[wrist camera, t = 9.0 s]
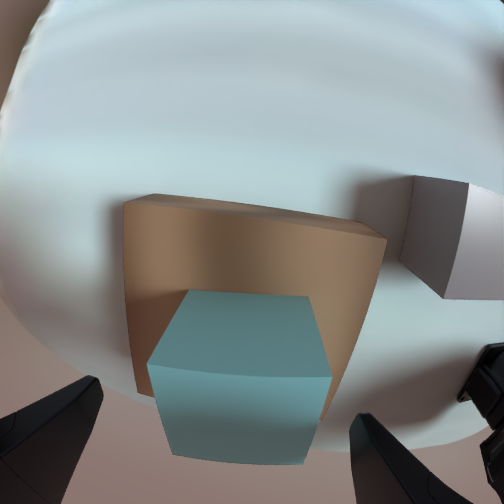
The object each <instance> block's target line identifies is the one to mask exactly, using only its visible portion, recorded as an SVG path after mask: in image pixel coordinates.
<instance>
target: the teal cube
mask: <svg viewBox="0 0 504 504" xmlns="http://www.w3.org/2000/svg"><path fill="white" fill-rule="evenodd" d="M147 368H148V372H149V376H150V380H151V384H152V388H153V392H154V396H155V400H156V403H157V407H158V410H159V414H160V417H161V421H162V424H163V427H164V430H165V433H166V436H167V439H168V442H169V445H170V448H171V451H172V454H173V455H178V456H184V457H190V458H196V459H202V460H210V461H218V462H228V463H240V464H258V465H300V464H303V463H304V460H305V458H306V455H307V452H308V450H309V447H310V444H311V442H312V439H313V436H314V433H315V431H316V428H317V425H318V422H319V419H320V416H321V413H322V410H323V407H324V403H325V400H326V397H327V394H328V390H329V387H330V384H331V380H332V374H331V370H330V366H329V363H328V359H327V356H326V352H325V349H324V346H323V342H322V339H321V335H320V332H319V329H318V325H317V322H316V319H315V316H314V312H313V309H312V306H311V303H310V299H309V296H290V295H268V294H249V293H232V292H216V291H202V290H189V291H188V293H187V294H186V296H185V298H184V299H183V301H182V303H181V304H180V306H179V308H178V309H177V311H176V313H175V315H174V316H173V318H172V320H171V322H170V323H169V325H168V327H167V328H166V330H165V332H164V334H163V335H162V337H161V339H160V341H159V342H158V344H157V346H156V348H155V350H154V351H153V353H152V355H151V357H150V358H149V360H148V362H147Z"/></svg>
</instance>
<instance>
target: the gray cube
mask: <svg viewBox="0 0 504 504" xmlns="http://www.w3.org/2000/svg"><path fill="white" fill-rule="evenodd" d="M399 262H400V263H401V264H403V265H404V266H405V267H406V268H408V269H409V270H410V271H411V272H412V273H414V274H415V275H416V276H417V277H418V278H419V279H421V280H422V281H423V282H424V283H425V284H427V285H428V286H429V287H430V288H431V289H432V290H433V291H435V292H436V293H437V294H438V295H439V296H440V297H441V298H443V299H459V300H504V196H501V195H499V194H496V193H494V192H491V191H489V190H486V189H484V188H481V187H478V186H476V185H473V184H470V183H465V182H459V181H453V180H446V179H439V178H432V177H425V176H417V175H414V182H413V190H412V197H411V203H410V210H409V216H408V221H407V227H406V232H405V237H404V242H403V246H402V251H401V255H400V259H399Z"/></svg>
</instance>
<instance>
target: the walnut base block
mask: <svg viewBox="0 0 504 504" xmlns="http://www.w3.org/2000/svg"><path fill="white" fill-rule="evenodd" d="M387 240H388V239H386V238H385V237H383V236H382V235H380V234H379V233H377V232H375V231H374V230H372V229H371V228H369V227H368V226H366V225H365V224H363V223H361V222H357V221H351V220H346V219H340V218H335V217H329V216H323V215H317V214H311V213H305V212H299V211H292V210H286V209H279V208H272V207H266V206H258V205H251V204H244V203H236V202H228V201H220V200H212V199H203V198H194V197H185V196H175V195H165V194H152V195H148V196H145V197H141V198H138V199H134V200H131V201H128V202H124V212H123V262H124V285H125V301H126V313H127V323H128V332H129V341H130V348H131V356H132V362H133V369H134V375H135V380H136V386H137V391H138V393H140V394H144V395H147V396H151V397H154V398H155V396H154V392H153V388H152V384H151V380H150V376H149V372H148V368H147V362H148V360H149V358H150V357H151V355H152V353H153V351H154V350H155V348H156V346H157V344H158V342H159V341H160V339H161V337H162V335H163V334H164V332H165V330H166V328H167V327H168V325H169V323H170V322H171V320H172V318H173V316H174V315H175V313H176V311H177V309H178V308H179V306H180V304H181V303H182V301H183V299H184V298H185V296H186V294H187V293H188V291H189V290H202V291H216V292H232V293H249V294H268V295H290V296H309V299H310V303H311V306H312V309H313V312H314V316H315V319H316V322H317V325H318V329H319V332H320V335H321V339H322V342H323V346H324V349H325V352H326V356H327V359H328V363H329V366H330V370H331V374H332V380H331V384H330V387H329V390H328V394H327V397H326V400H325V403H324V407H323V410H322V413H321V416H320V419H319V420H323V418H324V416H325V414H326V412H327V410H328V407H329V405H330V403H331V401H332V399H333V397H334V395H335V392H336V390H337V388H338V386H339V384H340V381H341V379H342V377H343V374H344V372H345V370H346V367H347V365H348V362H349V360H350V357H351V355H352V352H353V350H354V347H355V344H356V342H357V339H358V336H359V334H360V331H361V328H362V325H363V322H364V320H365V317H366V314H367V311H368V308H369V305H370V301H371V298H372V295H373V292H374V289H375V285H376V282H377V278H378V275H379V271H380V268H381V264H382V260H383V257H384V253H385V249H386V245H387Z"/></svg>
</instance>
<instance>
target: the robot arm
mask: <svg viewBox="0 0 504 504" xmlns="http://www.w3.org/2000/svg"><path fill="white" fill-rule="evenodd" d="M103 397H104V395H103V390H102V387H101V384H100V381H99V379H98V378H96V377H93V376H90V375H87V376H85V377H83V378H81V379H80V380H77V381H76V382H74V383H72V384H70V385H68V386H66V387H64V388H62V389H60V390H59V391H56V392H54V393H53V394H51V395H48V396H46V397H44V398H42V399H40V400H38V401H36V402H34V403H32V404H30V405H28V406H26V407H24V408H22V409H20V410H18V411H17V412H14V413H12V414H10V415H8V416H5V417H3V418H1V419H0V504H61V501H62V499H63V497H64V494H65V492H66V489H67V487H68V484H69V482H70V479H71V477H72V475H73V472H74V470H75V468H76V465H77V463H78V461H79V459H80V456H81V454H82V452H83V450H84V447H85V445H86V443H87V441H88V439H89V437H90V435H91V432H92V430H93V427H94V424H95V421H96V418H97V415H98V412H99V409H100V406H101V403H102V401H103ZM457 400H458V402H459V403H461V402H465V401H468V400H472V402H473V403H474V405H475V406H476V408H477V409H478V411H479V412H480V414H481V416H482V417H483V418H485V419H486V421H487V423H488V424H489V426H490V427H491V429H492V430H495V431H494V432H493V433H492V434H491V435H490V436H489V437H488V438H487V439H486V440H485V441H483V442H482V443H481V444H480V449H481V454H482V457H483V462H484V466H485V471H486V475H487V480H488V483H489V484H490V485H491V487H492V488H493V489H494V490H495V491H496V492H497V494H498V495H499V497H500V499H501V502H502V504H504V343H501V344H494V345H489V346H488V347H487V348H486V349H485V351H484V353H483V355H482V357H481V359H480V361H479V362H478V364H477V366H476V368H475V370H474V371H473V373H472V375H471V377H470V378H469V380H468V382H467V383H466V385H465V387H464V388H463V390H462V391H461V393H460V394H459V396H458V398H457ZM349 436H350V455H351V470H352V476H353V483H354V489H355V496H356V503H357V504H473V503H471V502H470V501H468V500H467V499H465V498H464V497H462V496H461V495H459V494H458V493H456V492H455V491H454V490H452V489H451V488H450V487H448V486H447V485H446V484H444V483H443V482H442V481H441V480H440V479H439V478H437V477H436V476H435V475H434V474H433V473H432V472H431V471H430V472H429V470H428V469H427V468H426V467H425V466H424V465H423V464H422V463H421V462H420V461H419V460H418V459H417V458H416V457H415V456H414V455H413V454H412V453H410V451H409V450H407V449H406V448H405V447H404V446H403V445H402V444H401V443H400V442H399V441H398V440H397V439H396V438H395V437H394V436H393V435H392V434H391V433H390V432H389V431H388V430H387V429H386V428H385V427H384V426H383V425H382V424H381V423H380V422H379V421H378V420H377V419H376V418H375V417H374V416H373V415H372V414H370V413H368V412H367V413H359V414H357V416H356V417H355V419H354V421H353V423H352V425H351V426H350V430H349Z"/></svg>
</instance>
